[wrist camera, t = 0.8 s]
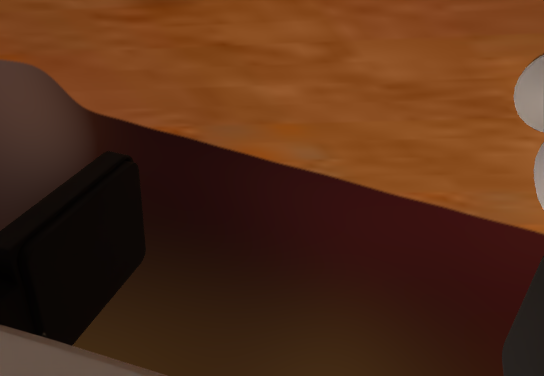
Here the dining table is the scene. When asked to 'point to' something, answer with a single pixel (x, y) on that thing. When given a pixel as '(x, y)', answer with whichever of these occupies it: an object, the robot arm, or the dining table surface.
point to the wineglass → (533, 112)
